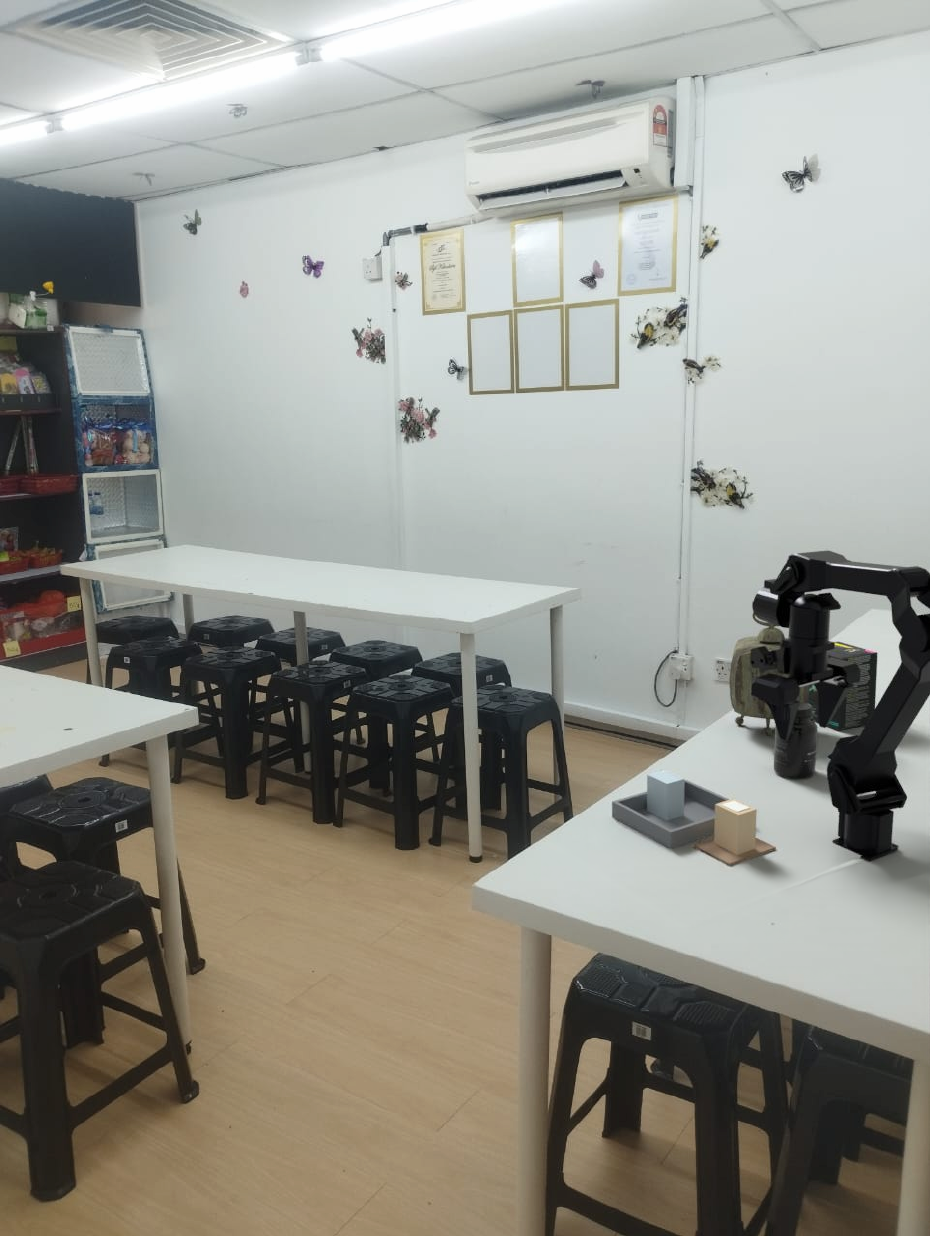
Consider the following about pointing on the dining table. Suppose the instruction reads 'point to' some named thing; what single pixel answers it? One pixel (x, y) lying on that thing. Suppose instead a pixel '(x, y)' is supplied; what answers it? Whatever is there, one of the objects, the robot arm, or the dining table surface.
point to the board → (728, 856)
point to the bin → (674, 831)
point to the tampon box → (860, 697)
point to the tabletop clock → (755, 675)
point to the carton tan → (735, 826)
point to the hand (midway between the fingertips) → (803, 733)
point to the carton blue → (665, 795)
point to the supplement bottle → (797, 747)
